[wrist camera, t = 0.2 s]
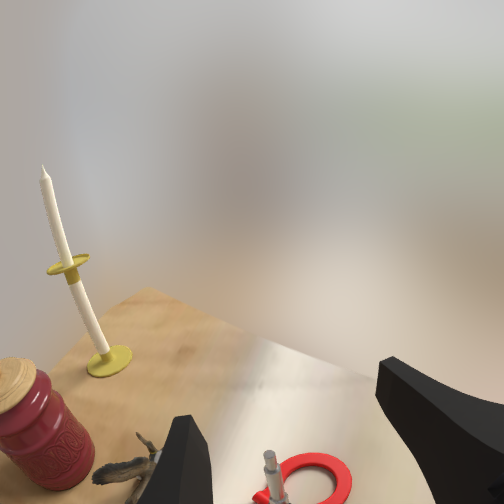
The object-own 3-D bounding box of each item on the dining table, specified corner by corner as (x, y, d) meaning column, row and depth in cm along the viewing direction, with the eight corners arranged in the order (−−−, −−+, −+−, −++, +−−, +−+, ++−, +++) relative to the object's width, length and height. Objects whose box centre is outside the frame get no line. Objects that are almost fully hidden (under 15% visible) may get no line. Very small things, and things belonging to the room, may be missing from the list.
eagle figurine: (132, 444, 29) (88, 484, 20) (140, 419, 26) (87, 466, 18) (182, 480, 27) (143, 526, 19) (198, 460, 25) (153, 517, 16)
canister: (91, 497, 21) (-4, 395, 15) (21, 486, 19) (-63, 392, 13) (102, 425, 33) (42, 325, 27) (40, 427, 31) (-19, 337, 25)
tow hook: (304, 446, 28) (246, 497, 22) (300, 366, 24) (218, 430, 18) (366, 476, 22) (310, 539, 16) (387, 399, 18) (312, 493, 12)
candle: (88, 354, 51) (26, 174, 40) (130, 341, 55) (73, 157, 43) (86, 382, 43) (7, 173, 31) (134, 368, 46) (62, 151, 34)
